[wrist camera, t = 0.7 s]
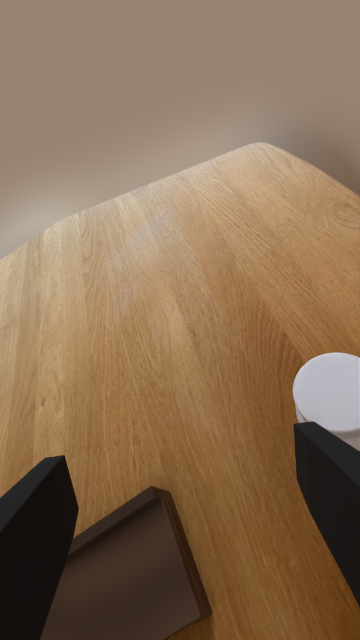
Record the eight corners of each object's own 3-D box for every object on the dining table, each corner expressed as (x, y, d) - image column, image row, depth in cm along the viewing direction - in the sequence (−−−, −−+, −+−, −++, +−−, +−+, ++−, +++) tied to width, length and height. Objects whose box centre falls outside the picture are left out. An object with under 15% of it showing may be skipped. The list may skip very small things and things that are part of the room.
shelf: (213, 613, 24) (192, 618, 22) (-68, 783, 28) (-111, 803, 25) (170, 491, 31) (150, 485, 28) (-55, 641, 34) (-88, 647, 32)
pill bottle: (356, 496, 24) (333, 467, 17) (300, 432, 28) (262, 386, 21) (420, 444, 24) (424, 392, 17) (354, 387, 28) (335, 325, 21)
